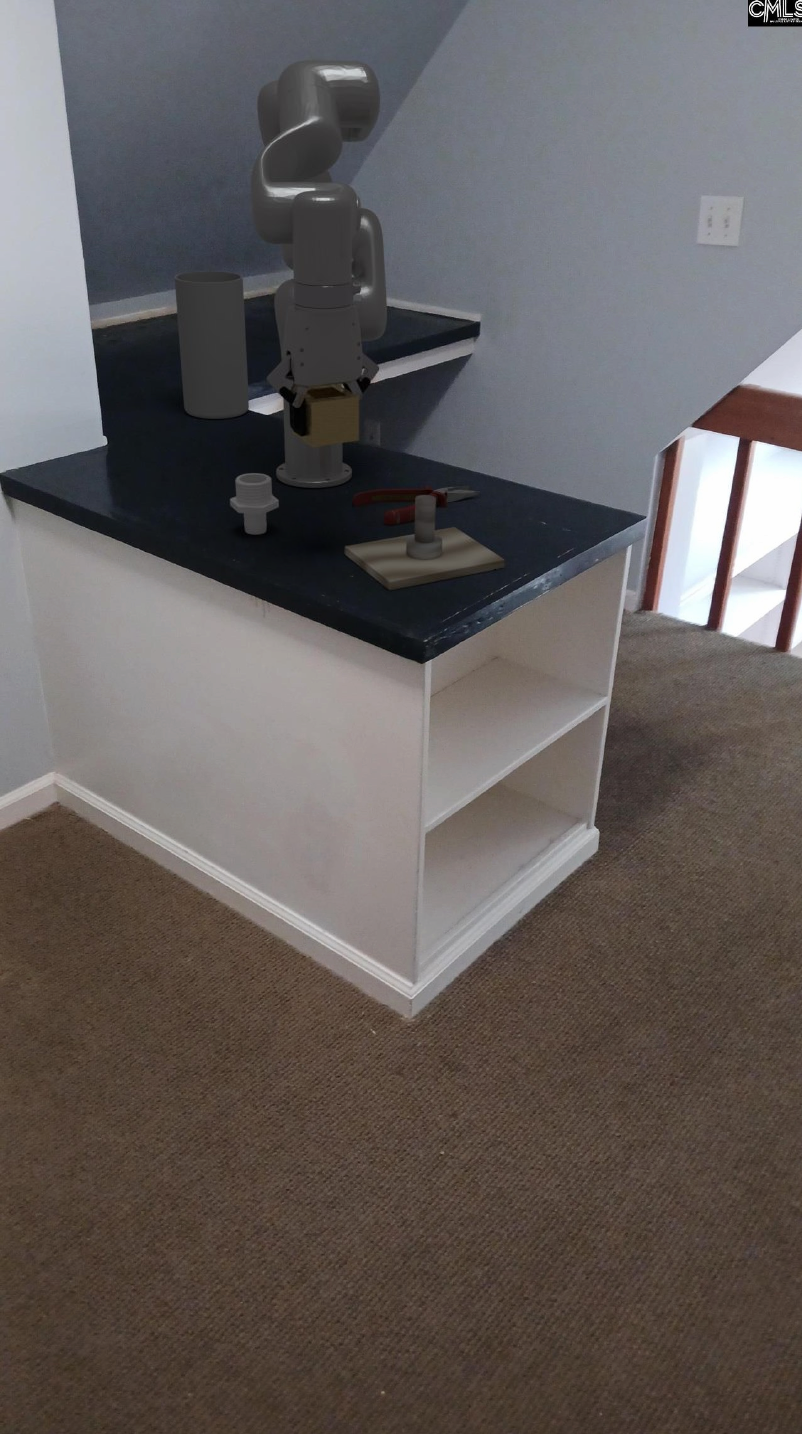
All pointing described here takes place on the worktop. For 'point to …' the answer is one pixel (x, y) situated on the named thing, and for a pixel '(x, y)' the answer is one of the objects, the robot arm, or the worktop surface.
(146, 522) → the worktop surface
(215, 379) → the cylinder vase
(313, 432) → the hollow wooden cube
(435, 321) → the worktop surface
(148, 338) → the worktop surface
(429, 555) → the post stand
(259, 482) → the pipe fitting
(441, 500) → the pliers
